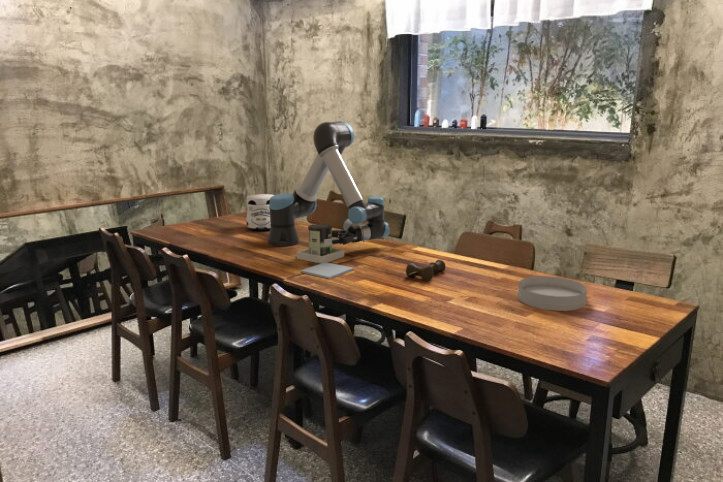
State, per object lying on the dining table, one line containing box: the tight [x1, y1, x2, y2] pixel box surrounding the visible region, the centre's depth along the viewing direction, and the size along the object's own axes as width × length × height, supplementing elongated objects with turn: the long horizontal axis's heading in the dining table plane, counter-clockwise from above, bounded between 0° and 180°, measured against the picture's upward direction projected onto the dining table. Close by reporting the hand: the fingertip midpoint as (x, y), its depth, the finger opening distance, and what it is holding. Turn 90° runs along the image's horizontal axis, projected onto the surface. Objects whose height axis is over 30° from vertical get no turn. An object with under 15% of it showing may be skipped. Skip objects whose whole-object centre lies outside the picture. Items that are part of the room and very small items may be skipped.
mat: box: [300, 262, 355, 280], centre depth 218 cm, size 15×15×1 cm
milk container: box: [245, 193, 274, 231], centre depth 297 cm, size 17×17×18 cm
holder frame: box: [296, 247, 345, 264], centre depth 238 cm, size 15×15×3 cm
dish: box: [517, 275, 588, 312], centre depth 184 cm, size 22×22×5 cm
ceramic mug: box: [342, 218, 361, 231], centre depth 284 cm, size 11×8×8 cm
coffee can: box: [307, 223, 333, 256], centre depth 237 cm, size 10×10×14 cm
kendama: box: [405, 259, 446, 282], centre depth 210 cm, size 6×10×20 cm
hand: (316, 239), depth 236 cm, fingers open, 13 cm apart
